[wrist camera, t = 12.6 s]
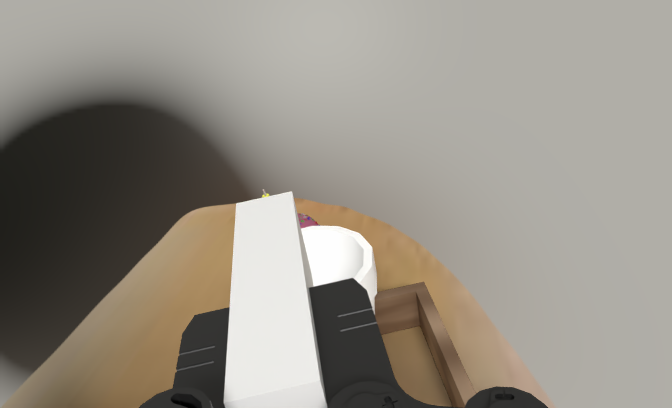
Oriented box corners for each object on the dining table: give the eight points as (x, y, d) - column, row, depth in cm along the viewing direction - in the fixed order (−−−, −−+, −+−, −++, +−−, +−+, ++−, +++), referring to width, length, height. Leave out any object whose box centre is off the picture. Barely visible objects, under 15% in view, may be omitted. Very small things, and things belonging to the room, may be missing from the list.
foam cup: (419, 379, 41) (401, 247, 35) (343, 468, 36) (305, 331, 29) (333, 333, 47) (304, 214, 41) (258, 403, 42) (211, 279, 35)
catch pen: (499, 480, 33) (498, 441, 31) (241, 542, 32) (223, 506, 31) (427, 315, 47) (423, 281, 45) (246, 357, 46) (234, 325, 44)
